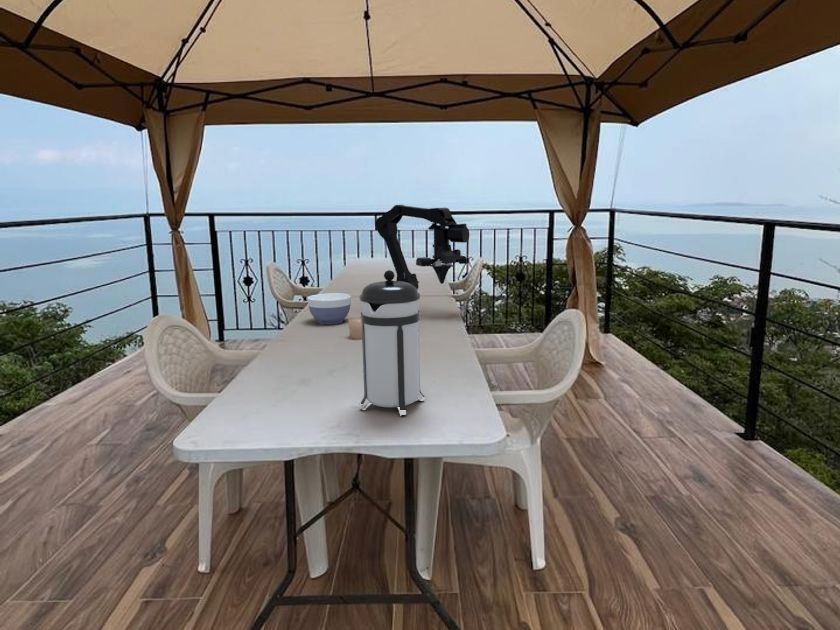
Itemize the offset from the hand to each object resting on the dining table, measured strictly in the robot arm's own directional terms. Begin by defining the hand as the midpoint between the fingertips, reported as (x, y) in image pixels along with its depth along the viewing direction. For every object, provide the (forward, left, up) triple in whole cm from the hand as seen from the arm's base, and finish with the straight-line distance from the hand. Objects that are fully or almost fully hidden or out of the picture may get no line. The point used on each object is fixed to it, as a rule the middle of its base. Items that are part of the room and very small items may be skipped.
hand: (441, 283), depth 214 cm
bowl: (-12, -41, -13) cm, 44 cm away
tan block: (+16, -38, -13) cm, 43 cm away
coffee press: (+79, -49, -13) cm, 94 cm away
